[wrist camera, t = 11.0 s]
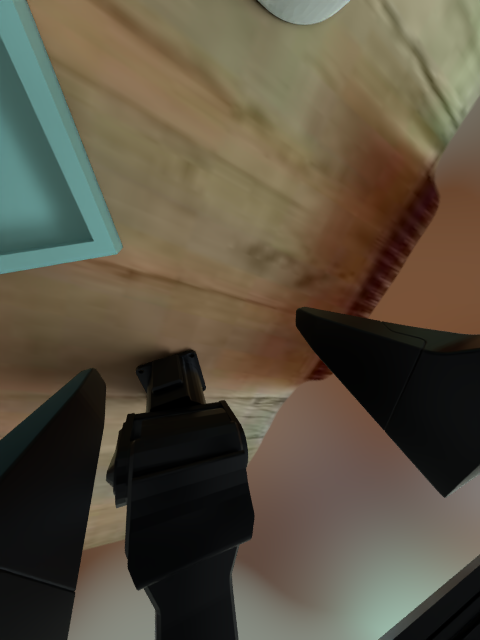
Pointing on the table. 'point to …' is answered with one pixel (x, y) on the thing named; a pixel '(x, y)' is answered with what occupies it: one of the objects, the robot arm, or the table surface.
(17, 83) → the tray
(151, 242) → the table surface
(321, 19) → the utensil holder
